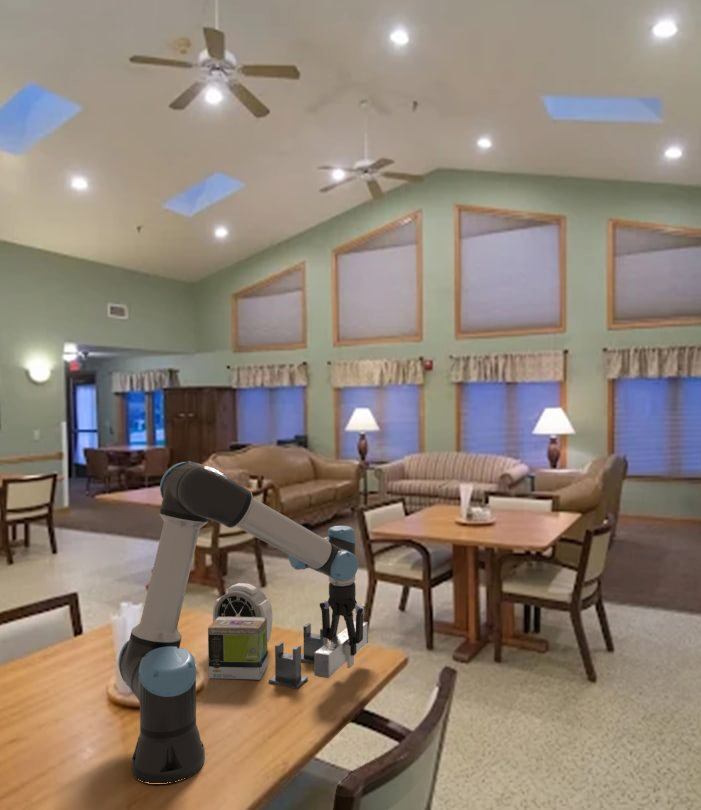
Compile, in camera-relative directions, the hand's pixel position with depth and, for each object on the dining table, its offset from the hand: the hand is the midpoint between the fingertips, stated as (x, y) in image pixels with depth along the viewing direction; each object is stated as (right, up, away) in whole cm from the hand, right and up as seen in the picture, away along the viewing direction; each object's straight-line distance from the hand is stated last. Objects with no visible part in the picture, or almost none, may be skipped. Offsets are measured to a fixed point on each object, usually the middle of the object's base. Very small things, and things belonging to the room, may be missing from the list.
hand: (342, 664), depth 177 cm
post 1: (-15, -4, -2) cm, 16 cm away
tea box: (-30, -4, +4) cm, 31 cm away
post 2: (-8, -4, +13) cm, 16 cm away
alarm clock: (-32, -4, +22) cm, 39 cm away
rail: (0, +2, 0) cm, 2 cm away
